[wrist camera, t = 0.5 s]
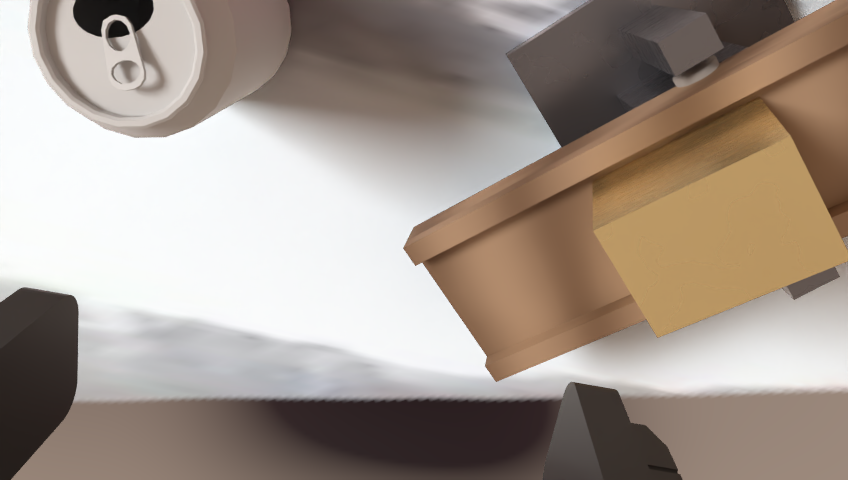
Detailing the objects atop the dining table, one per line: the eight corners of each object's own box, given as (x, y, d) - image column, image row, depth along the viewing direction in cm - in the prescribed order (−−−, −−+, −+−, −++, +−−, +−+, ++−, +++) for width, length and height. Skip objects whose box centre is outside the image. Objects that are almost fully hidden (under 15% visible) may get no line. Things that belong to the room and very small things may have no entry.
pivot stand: (732, -92, 34) (815, -112, 26) (867, 192, 38) (974, 250, 30) (505, 53, 36) (519, 75, 29) (655, 304, 41) (703, 384, 33)
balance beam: (1053, -151, 27) (1153, -159, 22) (1124, 54, 29) (1227, 86, 24) (423, 198, 38) (399, 242, 33) (509, 327, 40) (499, 386, 35)
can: (274, -76, 35) (186, -100, 24) (311, 82, 37) (247, 128, 26) (124, -45, 36) (-29, -54, 24) (170, 108, 38) (50, 164, 27)
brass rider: (758, 96, 28) (790, 135, 24) (812, 203, 29) (851, 259, 25) (592, 181, 31) (593, 231, 26) (647, 275, 32) (657, 337, 28)
